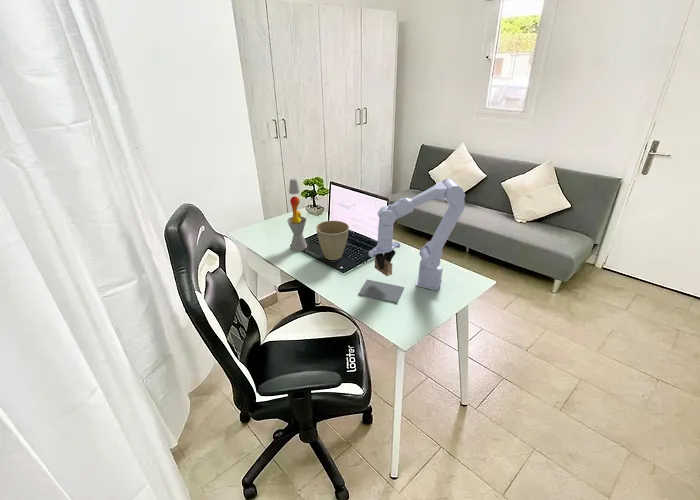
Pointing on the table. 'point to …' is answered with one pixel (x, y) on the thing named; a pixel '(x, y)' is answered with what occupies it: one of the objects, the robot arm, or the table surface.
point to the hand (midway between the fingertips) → (383, 267)
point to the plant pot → (332, 238)
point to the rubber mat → (381, 291)
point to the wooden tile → (386, 269)
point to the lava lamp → (296, 220)
